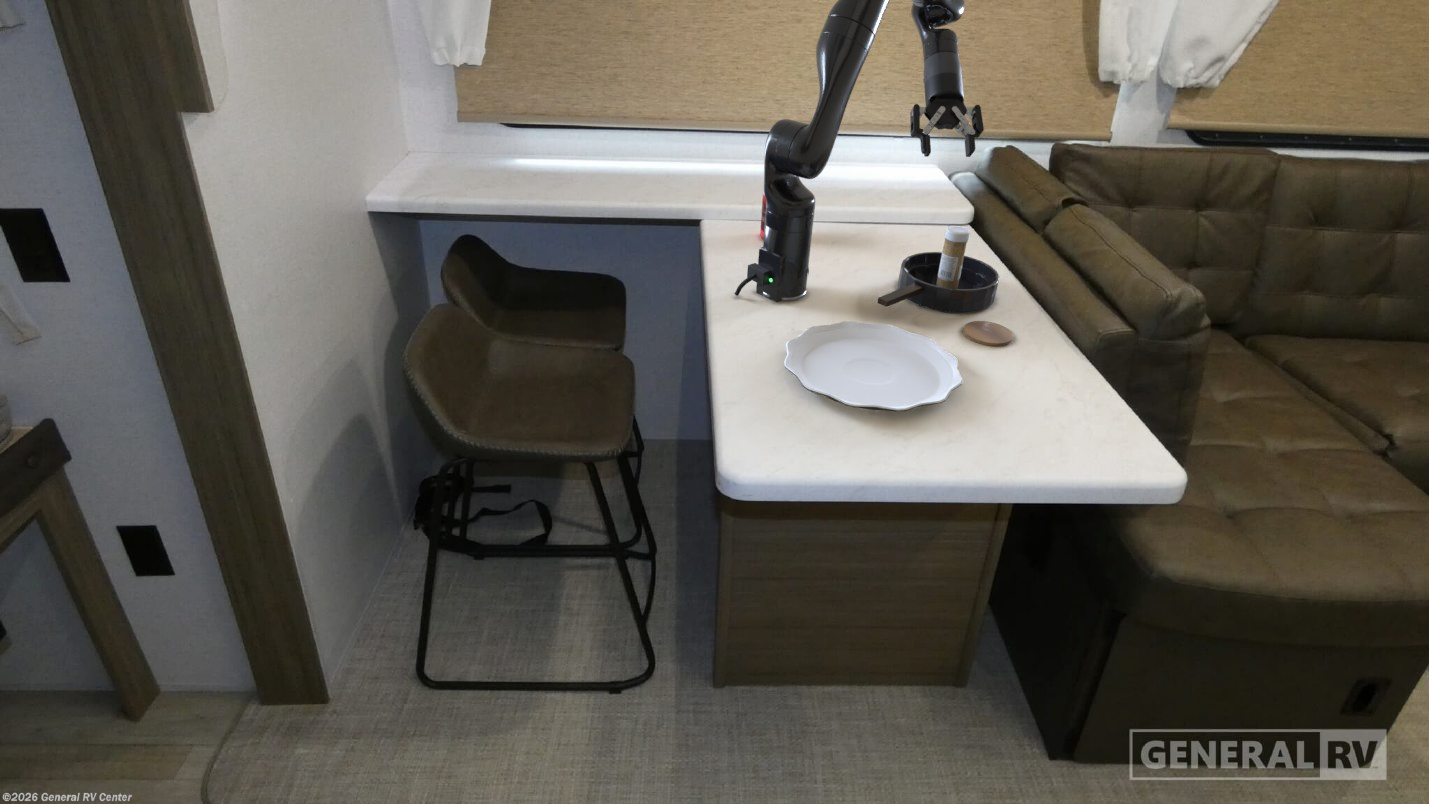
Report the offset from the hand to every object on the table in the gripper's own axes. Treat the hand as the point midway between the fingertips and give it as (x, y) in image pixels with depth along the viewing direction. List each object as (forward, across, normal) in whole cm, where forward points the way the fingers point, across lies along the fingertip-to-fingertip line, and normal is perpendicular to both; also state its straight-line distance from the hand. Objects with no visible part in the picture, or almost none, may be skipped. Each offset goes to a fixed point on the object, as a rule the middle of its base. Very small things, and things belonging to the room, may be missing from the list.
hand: (948, 155), depth 167 cm
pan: (+26, 0, +8) cm, 27 cm away
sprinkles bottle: (+26, 0, +8) cm, 27 cm away
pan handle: (+30, -12, -1) cm, 33 cm away
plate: (+48, -22, -16) cm, 56 cm away
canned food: (+6, -32, +29) cm, 43 cm away
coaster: (+39, +3, -5) cm, 39 cm away
